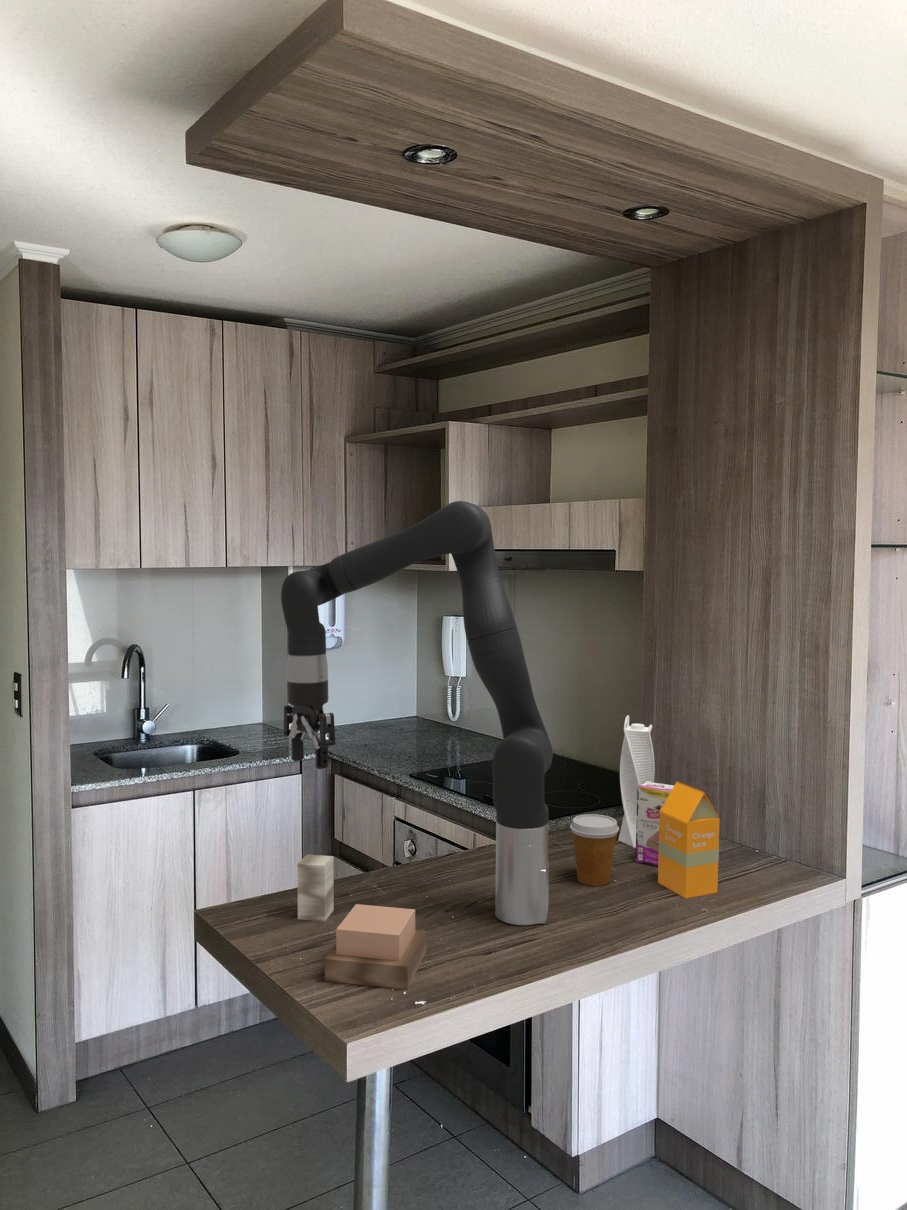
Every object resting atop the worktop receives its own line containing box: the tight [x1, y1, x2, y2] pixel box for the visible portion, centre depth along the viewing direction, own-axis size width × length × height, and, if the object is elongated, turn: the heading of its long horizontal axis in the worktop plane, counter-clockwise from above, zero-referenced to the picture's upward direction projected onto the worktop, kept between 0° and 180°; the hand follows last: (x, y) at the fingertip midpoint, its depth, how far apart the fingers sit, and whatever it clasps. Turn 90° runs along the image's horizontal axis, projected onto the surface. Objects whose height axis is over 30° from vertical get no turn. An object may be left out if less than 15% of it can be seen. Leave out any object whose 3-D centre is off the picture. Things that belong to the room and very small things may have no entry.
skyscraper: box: [617, 714, 656, 849], centre depth 209 cm, size 8×8×28 cm
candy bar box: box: [634, 781, 674, 867], centre depth 195 cm, size 11×5×16 cm, turn 58°
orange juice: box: [657, 780, 721, 899], centre depth 183 cm, size 8×9×20 cm
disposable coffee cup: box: [569, 813, 620, 887], centre depth 186 cm, size 10×10×12 cm
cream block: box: [296, 854, 335, 922], centre depth 169 cm, size 5×5×10 cm
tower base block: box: [324, 929, 427, 990], centre depth 150 cm, size 13×13×4 cm
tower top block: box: [335, 903, 416, 961], centre depth 149 cm, size 10×10×4 cm
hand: (309, 764), depth 177 cm, fingers open, 8 cm apart
